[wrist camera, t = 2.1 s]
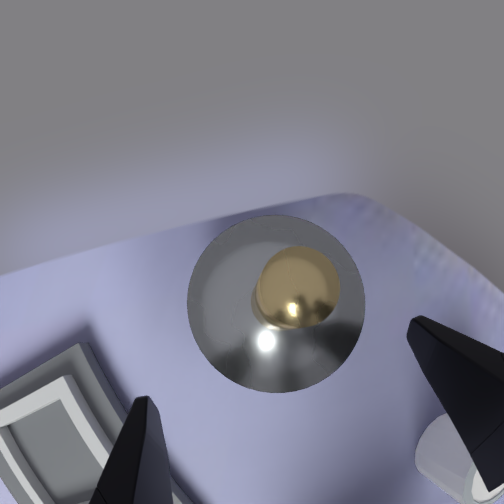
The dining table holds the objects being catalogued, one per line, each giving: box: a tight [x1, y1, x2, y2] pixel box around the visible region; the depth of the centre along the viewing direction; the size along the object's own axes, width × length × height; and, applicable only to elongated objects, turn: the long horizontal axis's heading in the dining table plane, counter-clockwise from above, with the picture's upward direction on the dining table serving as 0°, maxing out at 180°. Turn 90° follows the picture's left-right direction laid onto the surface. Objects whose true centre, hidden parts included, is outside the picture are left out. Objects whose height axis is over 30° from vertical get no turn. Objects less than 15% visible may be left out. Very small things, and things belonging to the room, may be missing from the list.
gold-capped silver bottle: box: [187, 215, 365, 393], centre depth 12 cm, size 5×5×14 cm
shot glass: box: [415, 413, 504, 504], centre depth 14 cm, size 7×7×7 cm
